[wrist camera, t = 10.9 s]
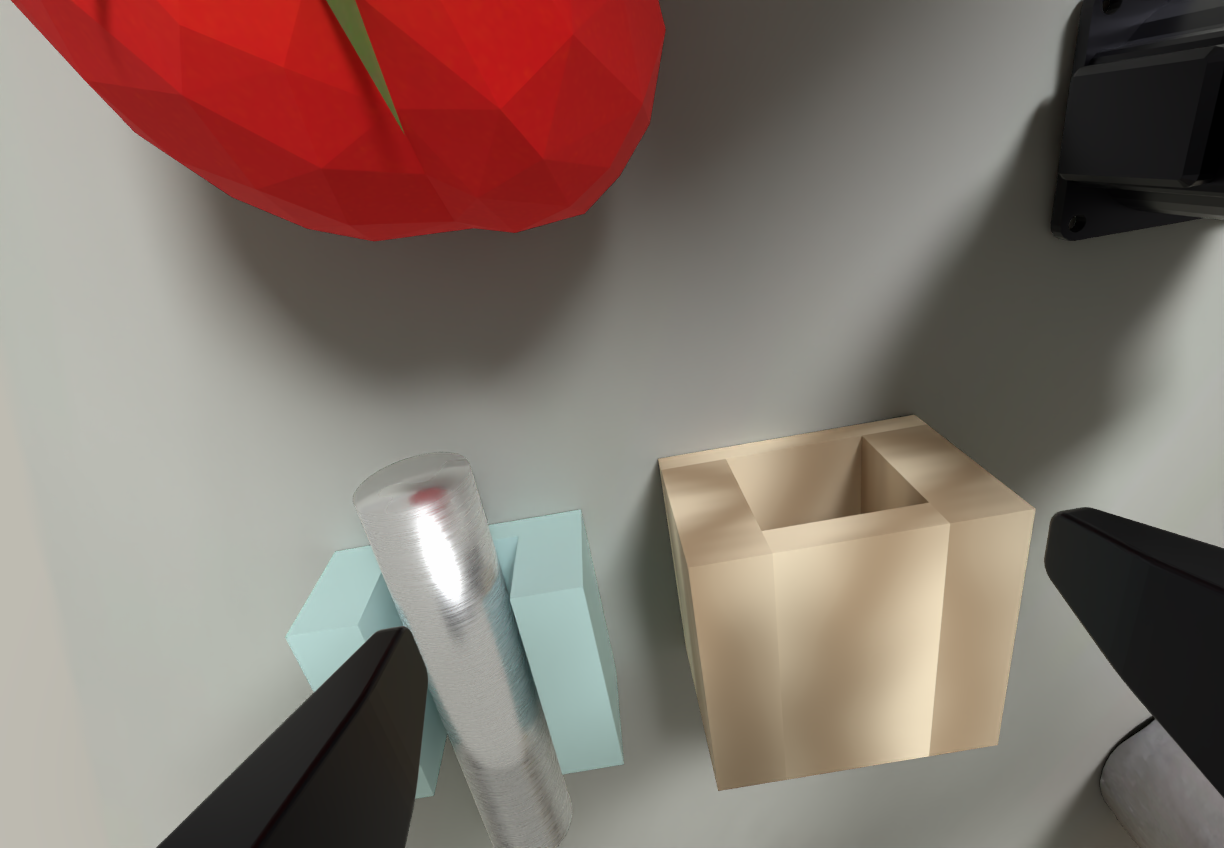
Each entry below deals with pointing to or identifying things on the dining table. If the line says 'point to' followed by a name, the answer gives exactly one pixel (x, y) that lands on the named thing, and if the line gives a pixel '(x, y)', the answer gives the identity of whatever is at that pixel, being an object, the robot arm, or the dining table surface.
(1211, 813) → the pillar candle
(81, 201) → the dining table surface
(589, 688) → the cradle
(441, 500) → the axle
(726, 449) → the open beige box
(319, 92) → the tomato
